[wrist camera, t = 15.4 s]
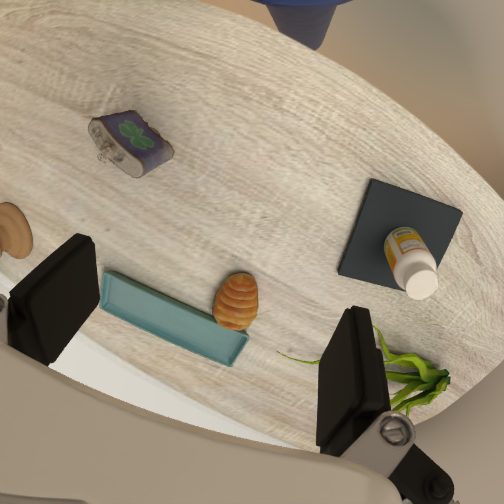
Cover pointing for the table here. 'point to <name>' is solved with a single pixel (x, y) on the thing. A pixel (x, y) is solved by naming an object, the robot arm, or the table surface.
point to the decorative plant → (411, 379)
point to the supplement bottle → (411, 263)
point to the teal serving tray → (170, 319)
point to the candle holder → (14, 232)
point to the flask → (129, 142)
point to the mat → (388, 219)
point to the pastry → (236, 302)
